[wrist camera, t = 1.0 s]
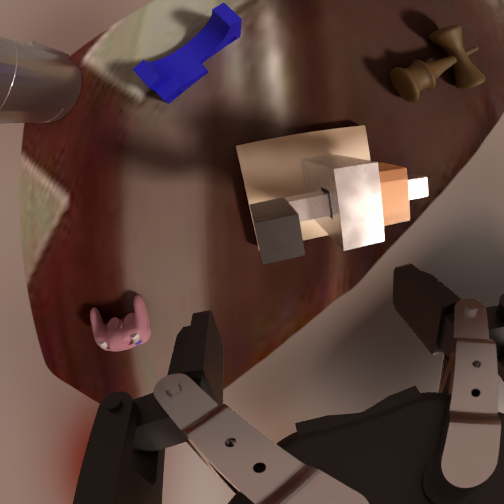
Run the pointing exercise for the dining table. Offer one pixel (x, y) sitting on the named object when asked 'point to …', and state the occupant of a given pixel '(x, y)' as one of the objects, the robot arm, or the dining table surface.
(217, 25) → the cable clip
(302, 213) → the shaft
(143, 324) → the video game controller
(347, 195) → the stand
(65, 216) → the dining table surface
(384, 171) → the block
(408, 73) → the kendama
